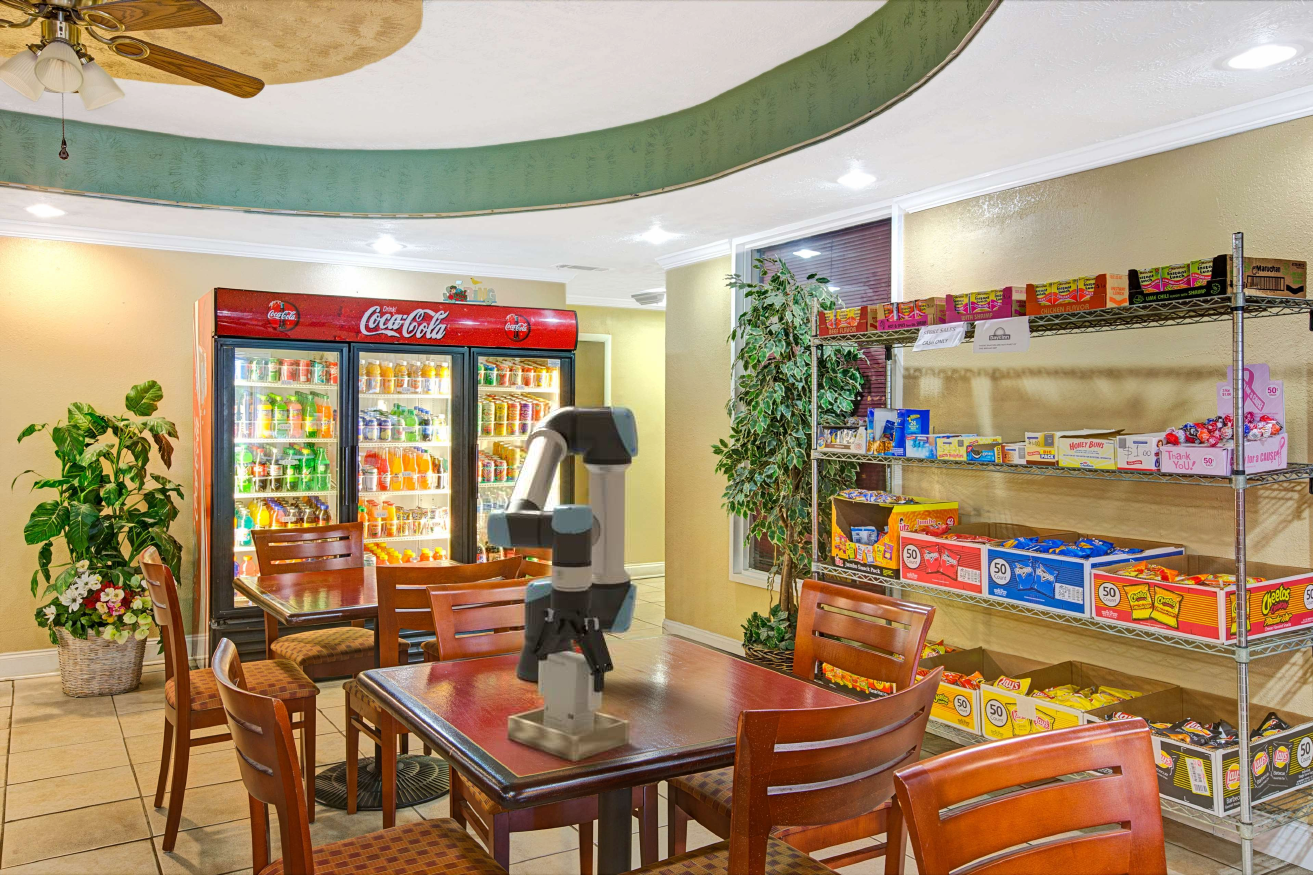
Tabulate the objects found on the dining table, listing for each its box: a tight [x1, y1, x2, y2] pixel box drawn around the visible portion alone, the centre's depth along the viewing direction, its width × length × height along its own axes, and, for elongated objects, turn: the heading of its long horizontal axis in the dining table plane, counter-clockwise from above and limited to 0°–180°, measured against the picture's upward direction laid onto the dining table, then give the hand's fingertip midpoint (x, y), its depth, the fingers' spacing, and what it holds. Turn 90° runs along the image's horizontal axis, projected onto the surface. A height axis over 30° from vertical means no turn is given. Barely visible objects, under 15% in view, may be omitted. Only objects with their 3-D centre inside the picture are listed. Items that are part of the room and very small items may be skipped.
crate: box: [507, 706, 630, 763], centre depth 166 cm, size 18×14×4 cm
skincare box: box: [543, 651, 598, 736], centre depth 166 cm, size 8×6×15 cm
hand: (569, 701), depth 167 cm, fingers open, 13 cm apart
